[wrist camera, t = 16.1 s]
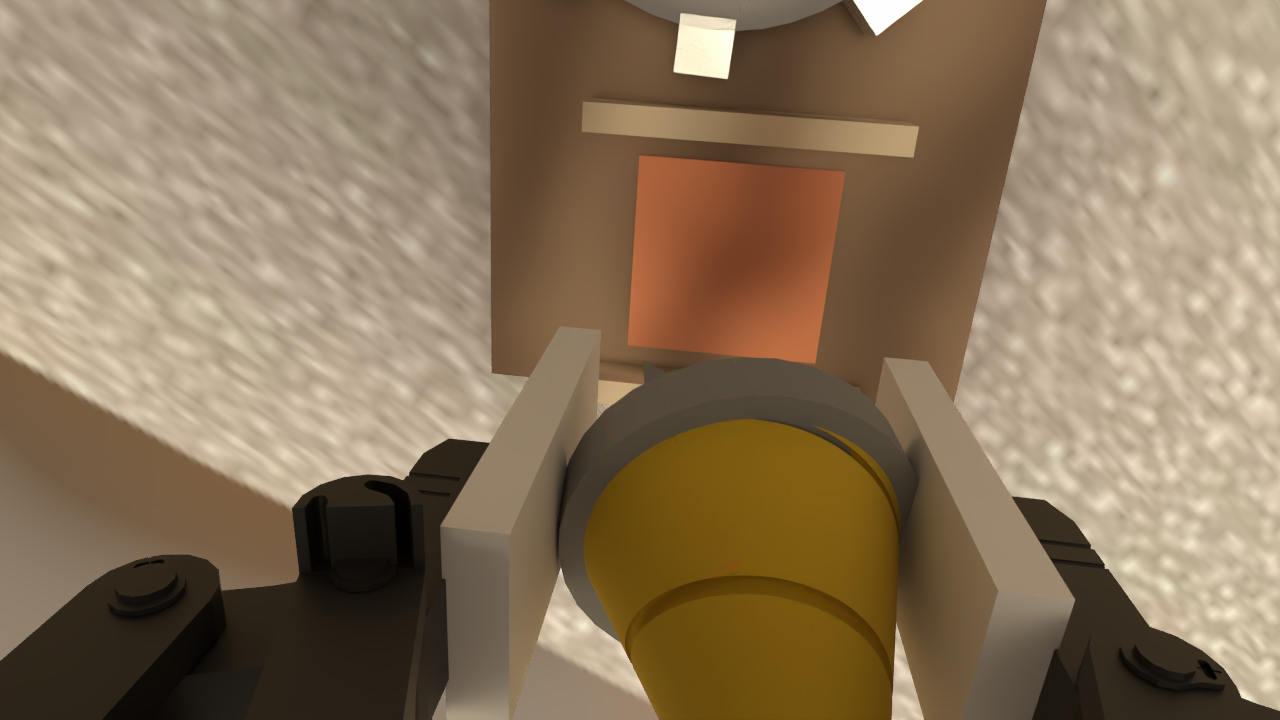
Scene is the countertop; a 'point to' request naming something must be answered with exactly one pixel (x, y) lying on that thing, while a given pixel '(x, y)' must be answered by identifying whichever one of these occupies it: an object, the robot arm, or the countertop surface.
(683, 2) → the sprocket
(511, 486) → the robot arm
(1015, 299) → the countertop surface
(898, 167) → the brown wooden board
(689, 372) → the drill bit
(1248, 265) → the countertop surface
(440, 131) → the countertop surface
